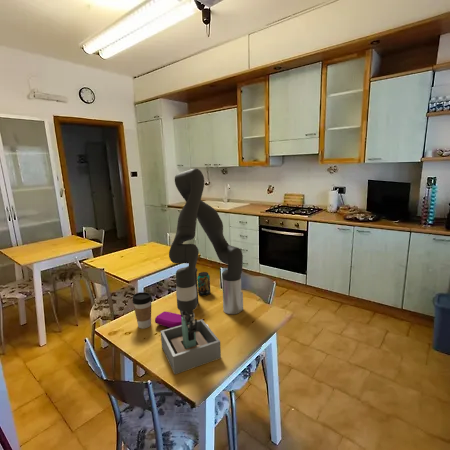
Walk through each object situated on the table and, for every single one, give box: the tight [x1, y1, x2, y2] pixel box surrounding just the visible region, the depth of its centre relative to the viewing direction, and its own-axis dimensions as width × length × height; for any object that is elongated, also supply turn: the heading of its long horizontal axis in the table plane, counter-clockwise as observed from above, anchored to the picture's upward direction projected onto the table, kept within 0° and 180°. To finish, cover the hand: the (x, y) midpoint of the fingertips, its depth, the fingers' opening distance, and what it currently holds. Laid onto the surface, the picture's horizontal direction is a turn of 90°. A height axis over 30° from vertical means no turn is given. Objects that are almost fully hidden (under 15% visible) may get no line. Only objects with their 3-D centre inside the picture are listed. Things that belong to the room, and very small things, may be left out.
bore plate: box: [170, 331, 208, 354], centre depth 109 cm, size 12×12×3 cm
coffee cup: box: [132, 291, 152, 330], centre depth 128 cm, size 8×8×15 cm
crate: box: [160, 318, 222, 375], centre depth 109 cm, size 18×18×7 cm
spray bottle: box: [154, 311, 210, 328], centre depth 128 cm, size 3×11×24 cm
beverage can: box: [197, 271, 211, 296], centre depth 160 cm, size 7×7×12 cm
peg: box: [181, 317, 196, 349], centre depth 108 cm, size 4×4×12 cm
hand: (189, 336), depth 108 cm, fingers closed on peg, 4 cm apart
